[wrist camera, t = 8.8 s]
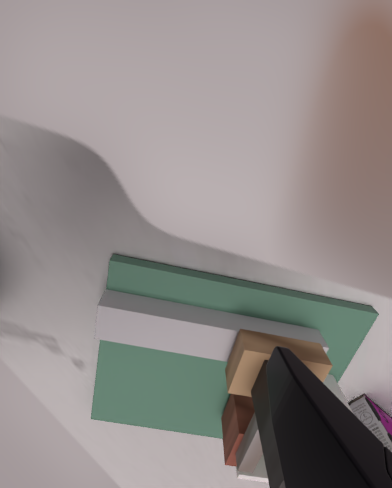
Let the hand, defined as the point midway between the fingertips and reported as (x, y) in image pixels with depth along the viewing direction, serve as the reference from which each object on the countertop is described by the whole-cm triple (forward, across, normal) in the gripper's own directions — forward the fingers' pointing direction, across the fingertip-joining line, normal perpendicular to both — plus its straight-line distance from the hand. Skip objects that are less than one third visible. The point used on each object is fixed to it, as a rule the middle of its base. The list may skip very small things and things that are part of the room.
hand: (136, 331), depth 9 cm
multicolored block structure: (+11, -9, +12) cm, 19 cm away
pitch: (+12, -7, +13) cm, 19 cm away
